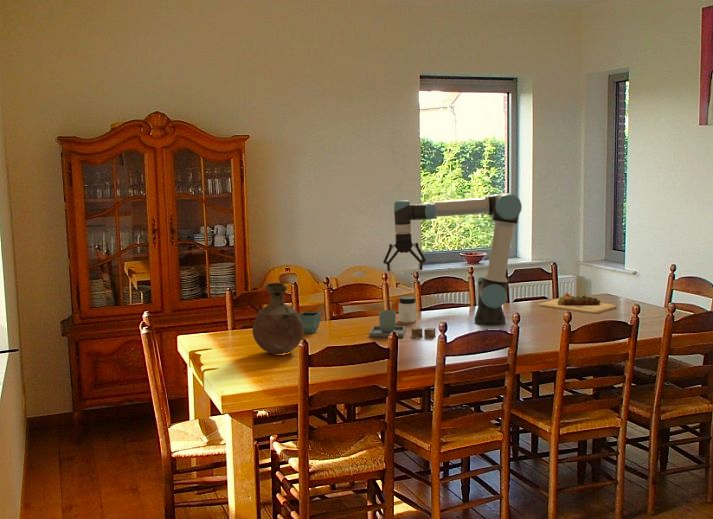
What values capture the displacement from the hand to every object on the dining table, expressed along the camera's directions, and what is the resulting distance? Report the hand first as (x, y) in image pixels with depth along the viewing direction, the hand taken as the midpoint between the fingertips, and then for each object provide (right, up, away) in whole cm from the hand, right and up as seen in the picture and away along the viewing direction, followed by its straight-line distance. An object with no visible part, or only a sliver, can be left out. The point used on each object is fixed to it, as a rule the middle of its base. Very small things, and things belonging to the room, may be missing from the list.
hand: (405, 277), depth 366 cm
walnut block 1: (+5, -27, -13) cm, 30 cm away
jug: (-57, -32, -38) cm, 75 cm away
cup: (-9, -26, -6) cm, 28 cm away
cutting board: (+96, -18, +49) cm, 109 cm away
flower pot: (-46, -27, +1) cm, 53 cm away
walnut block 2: (+10, -27, -15) cm, 33 cm away
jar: (+3, -23, +22) cm, 32 cm away
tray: (-9, -26, -6) cm, 28 cm away
